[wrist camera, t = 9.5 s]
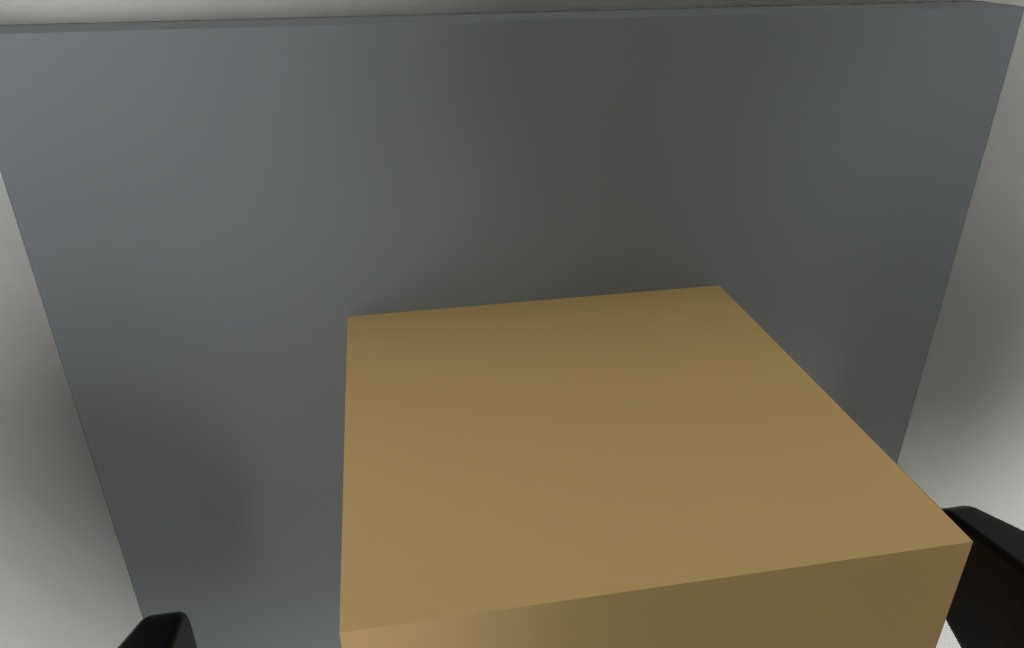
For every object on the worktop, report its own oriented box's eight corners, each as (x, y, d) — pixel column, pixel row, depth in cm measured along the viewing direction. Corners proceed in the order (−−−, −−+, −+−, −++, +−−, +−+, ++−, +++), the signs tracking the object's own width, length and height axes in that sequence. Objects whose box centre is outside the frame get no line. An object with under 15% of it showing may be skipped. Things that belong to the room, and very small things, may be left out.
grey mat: (817, 636, 16) (838, 669, 15) (201, 734, 14) (194, 777, 13) (978, 1, 10) (1024, 6, 10) (-10, 25, 8) (-43, 35, 8)
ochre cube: (684, 557, 13) (850, 884, 9) (381, 600, 12) (393, 981, 8) (719, 285, 11) (972, 541, 6) (347, 316, 10) (339, 633, 5)
